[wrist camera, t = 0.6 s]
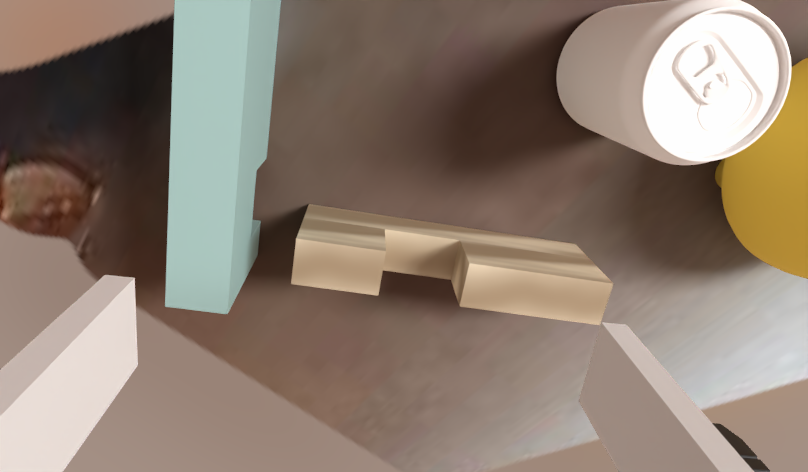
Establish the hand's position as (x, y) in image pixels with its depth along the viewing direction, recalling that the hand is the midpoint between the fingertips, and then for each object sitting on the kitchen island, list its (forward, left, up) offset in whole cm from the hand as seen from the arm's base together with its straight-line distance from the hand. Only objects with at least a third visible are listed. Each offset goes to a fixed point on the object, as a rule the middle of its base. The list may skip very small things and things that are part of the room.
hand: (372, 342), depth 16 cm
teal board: (-2, -9, -24) cm, 26 cm away
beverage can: (-8, +15, -24) cm, 30 cm away
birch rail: (+6, +6, -24) cm, 26 cm away
